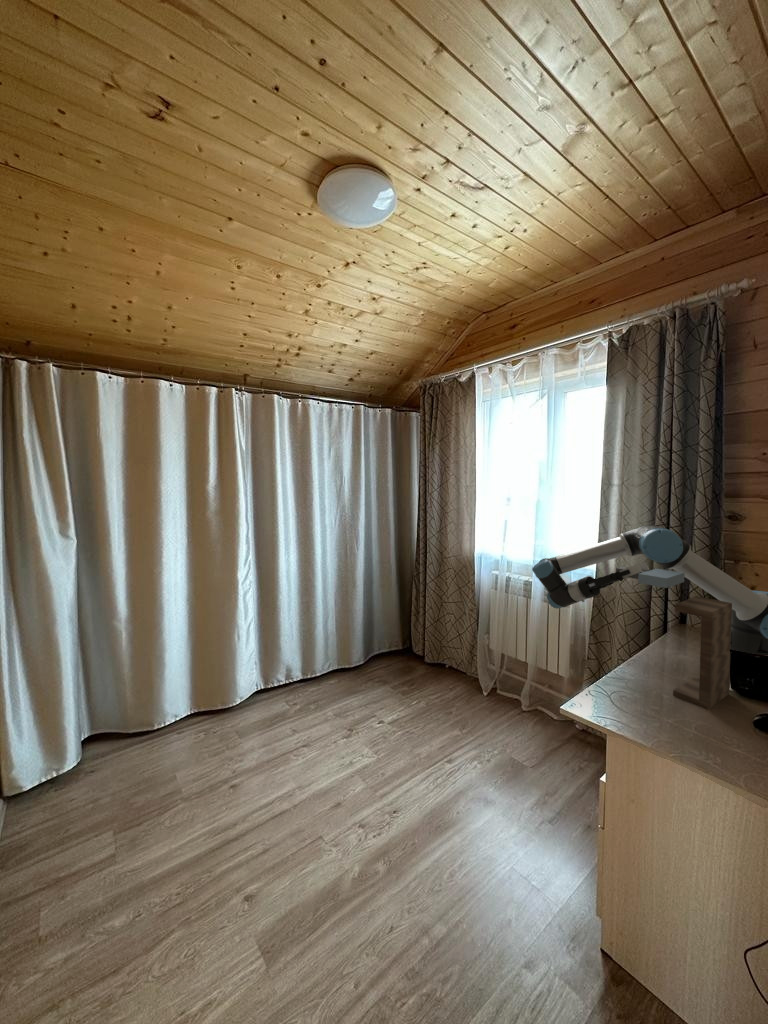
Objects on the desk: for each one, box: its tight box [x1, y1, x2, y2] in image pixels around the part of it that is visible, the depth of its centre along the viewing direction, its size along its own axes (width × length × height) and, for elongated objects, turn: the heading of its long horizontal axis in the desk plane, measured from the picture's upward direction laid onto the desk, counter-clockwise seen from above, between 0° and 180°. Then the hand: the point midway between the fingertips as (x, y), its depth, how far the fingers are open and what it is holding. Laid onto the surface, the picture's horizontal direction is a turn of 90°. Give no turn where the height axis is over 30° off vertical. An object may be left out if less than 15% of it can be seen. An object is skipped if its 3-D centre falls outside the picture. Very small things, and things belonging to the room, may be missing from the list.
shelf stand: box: [672, 595, 732, 710], centre depth 119 cm, size 14×9×28 cm, turn 122°
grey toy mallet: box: [615, 566, 685, 589], centre depth 131 cm, size 12×17×3 cm
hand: (643, 566), depth 132 cm, fingers closed on grey toy mallet, 4 cm apart
